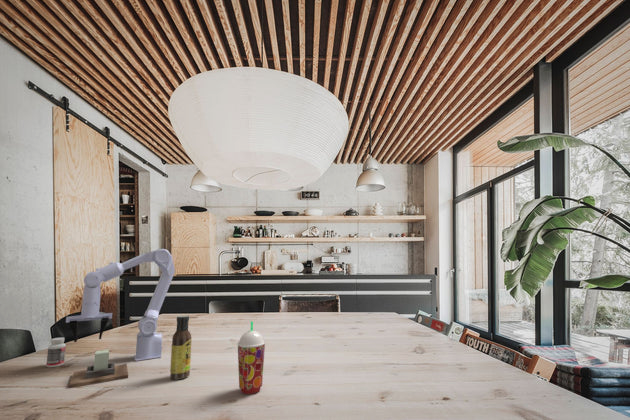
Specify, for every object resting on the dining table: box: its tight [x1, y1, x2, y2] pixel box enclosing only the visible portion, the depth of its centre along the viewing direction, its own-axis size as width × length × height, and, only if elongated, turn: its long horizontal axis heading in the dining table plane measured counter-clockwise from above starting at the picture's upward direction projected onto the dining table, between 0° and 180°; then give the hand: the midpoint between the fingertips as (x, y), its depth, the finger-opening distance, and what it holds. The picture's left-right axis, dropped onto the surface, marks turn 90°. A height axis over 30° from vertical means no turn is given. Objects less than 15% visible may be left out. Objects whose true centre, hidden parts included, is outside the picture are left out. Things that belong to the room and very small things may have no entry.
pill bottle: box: [46, 337, 67, 368], centre depth 125 cm, size 5×5×10 cm
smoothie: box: [237, 320, 266, 395], centre depth 100 cm, size 8×8×20 cm
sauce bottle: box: [169, 314, 192, 380], centre depth 112 cm, size 6×6×20 cm
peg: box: [93, 349, 110, 371], centre depth 112 cm, size 4×4×7 cm
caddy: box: [68, 361, 129, 389], centre depth 112 cm, size 16×14×3 cm
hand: (88, 340), depth 124 cm, fingers open, 7 cm apart
